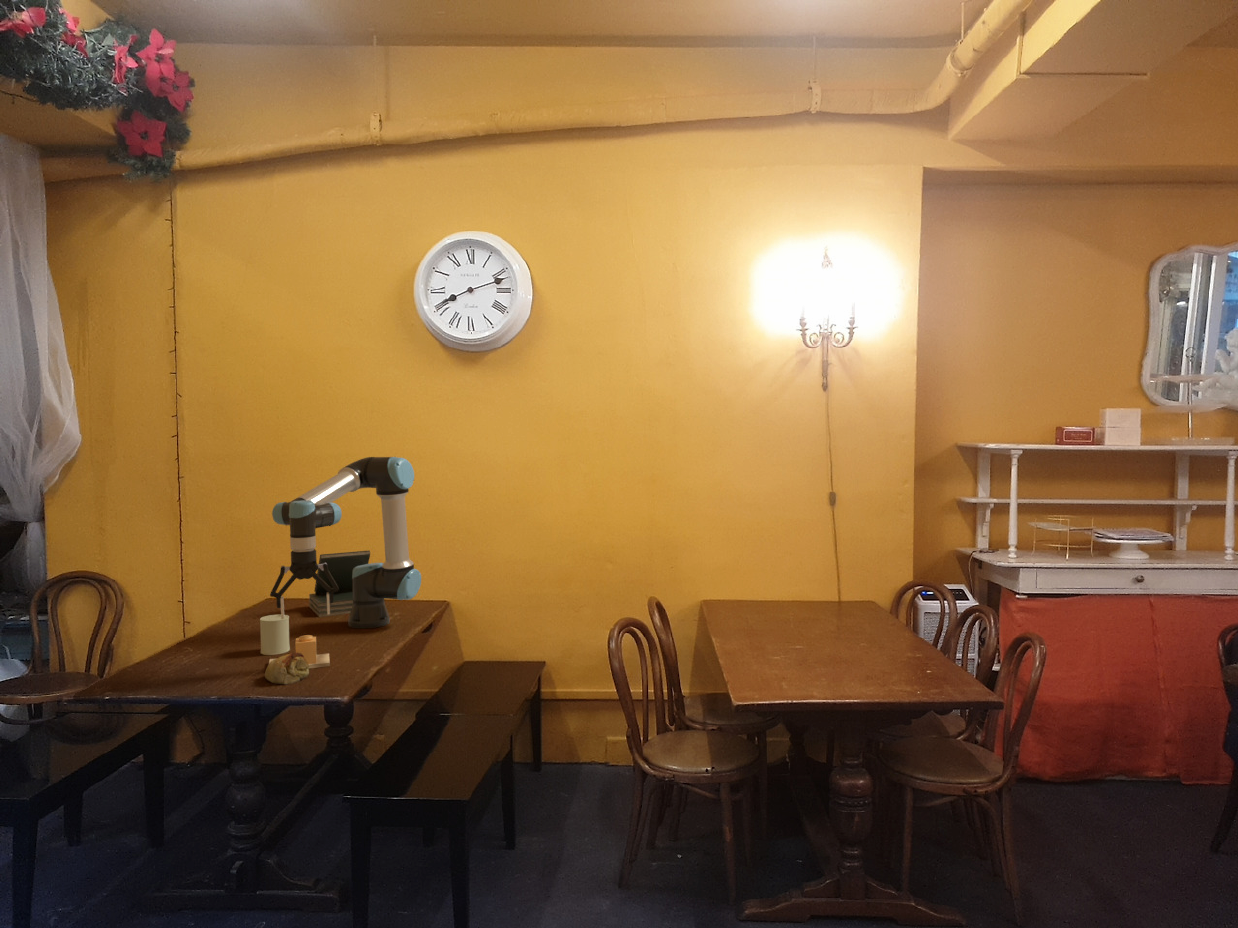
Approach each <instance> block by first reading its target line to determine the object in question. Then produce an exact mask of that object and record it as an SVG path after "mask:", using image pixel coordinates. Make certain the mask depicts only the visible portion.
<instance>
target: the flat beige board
mask: <svg viewBox="0 0 1238 928" xmlns="http://www.w3.org/2000/svg"><path fill="white" fill-rule="evenodd" d="M316 656H317V659H316V663H313V664H309V669H315V668H316V669H317V668H328V667H330V666H331V663H330V653H329V652H328V653H321V654H318V653H317V654H316ZM278 658H279V657H278ZM278 658H269V660H268V661H269V662H268V664H269V663H270V662H272V661H273V660H275V659H278Z"/></svg>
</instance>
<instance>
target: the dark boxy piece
mask: <svg viewBox="0 0 1238 928" xmlns="http://www.w3.org/2000/svg"><path fill="white" fill-rule="evenodd" d="M370 557H371V552H370V550H358V551H346V552H337V553H336V552H335V553H326V554H325V553H322V554H319V560H318V565H319V564H323V563H327V568H328V570H329V572H330V574H331V575H332V577H333V579H334V580H335V582H336V584H337V585H338V587H339V590H338V591H336V592H334V593H333V603H330V614H329V615H327V593H329V592H328V591H327V590H326V589H325V588H323V587H322V586H321V585H320V584H319V583H318V582H317V581H316V580H315V584H314V590H313V591H314V593H309V597H308V598H309V609H311V610H312V612H314V614H315V615H316V616H317V617H319V618H323V617H331V616H340V615H347V614H349V615H350V613H351V610H352V606H353V589H352V573H353V569H354V568H355V567H357V566H360V565H365V564H370V563H369V561H370ZM316 573H317V574H318V576H319V577H320V578H321V579H322V580H323V581H324V582H326V583H327V584H328V585H329V586H330V587H331V588H333V586H332V584H331V583H330V581H329V579H328V578H327V576H326V574H325V573H324V571H322V570H321V569H320V568H318V570H317V571H316Z"/></svg>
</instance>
